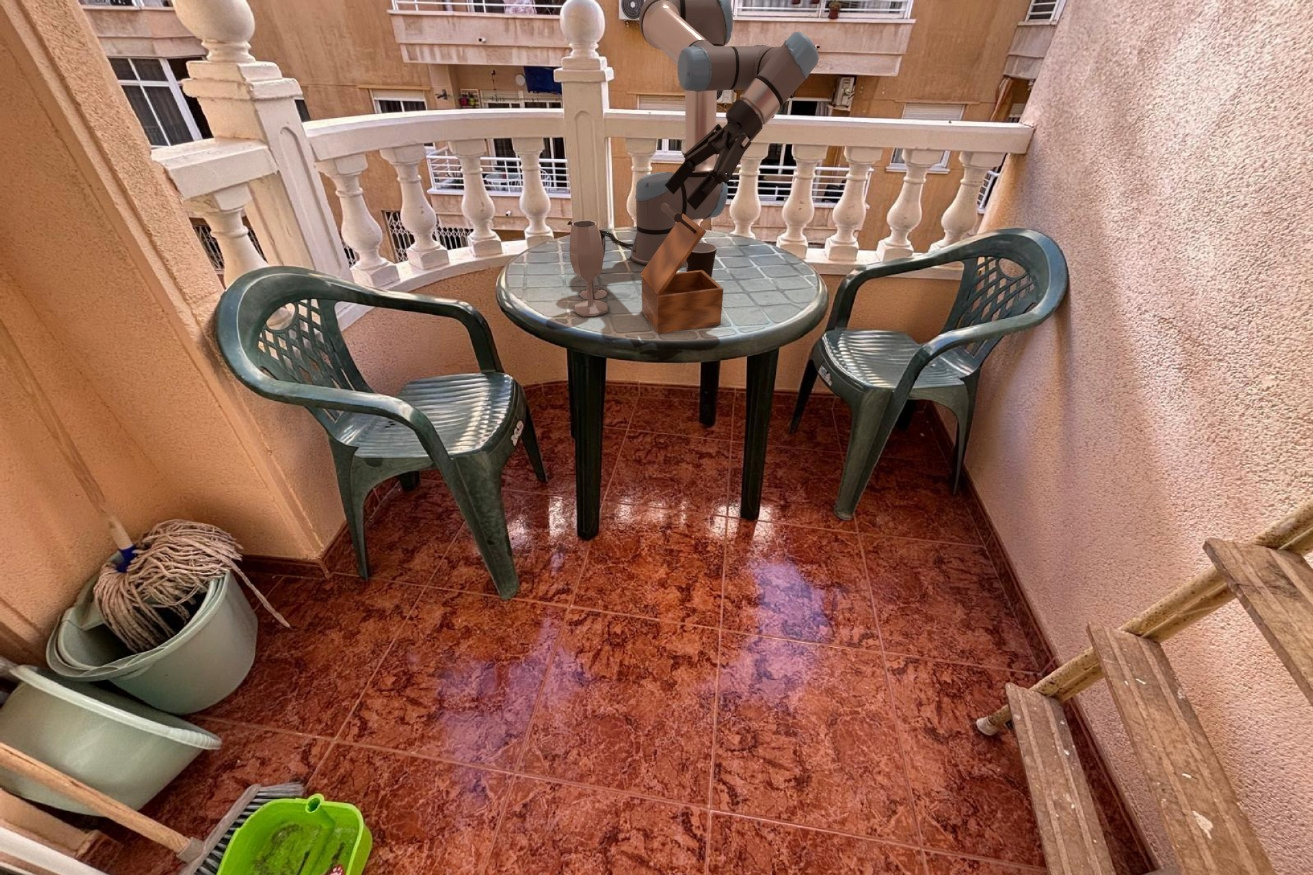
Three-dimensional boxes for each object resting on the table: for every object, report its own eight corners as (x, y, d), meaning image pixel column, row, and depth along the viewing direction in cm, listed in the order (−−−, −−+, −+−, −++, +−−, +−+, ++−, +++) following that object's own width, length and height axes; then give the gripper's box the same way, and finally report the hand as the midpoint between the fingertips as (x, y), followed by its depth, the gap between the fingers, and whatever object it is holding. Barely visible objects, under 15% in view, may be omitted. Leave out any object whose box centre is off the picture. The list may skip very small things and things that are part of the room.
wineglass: (579, 320, 129) (571, 231, 116) (569, 306, 135) (560, 220, 122) (613, 314, 132) (608, 226, 119) (601, 300, 138) (596, 216, 125)
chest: (700, 303, 137) (702, 269, 131) (720, 324, 127) (723, 288, 122) (642, 311, 133) (641, 277, 127) (658, 333, 123) (658, 297, 118)
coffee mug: (709, 291, 143) (711, 254, 137) (679, 287, 145) (680, 250, 139) (720, 276, 152) (723, 241, 146) (691, 272, 154) (693, 237, 148)
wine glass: (584, 302, 137) (579, 243, 128) (574, 291, 143) (568, 234, 134) (613, 296, 140) (610, 238, 131) (601, 286, 146) (597, 230, 137)
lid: (685, 215, 122) (662, 196, 118) (706, 231, 112) (682, 211, 108) (642, 276, 127) (619, 260, 123) (659, 296, 118) (635, 279, 114)
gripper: (791, 136, 100) (712, 225, 106) (736, 119, 119) (671, 195, 125) (769, 104, 96) (688, 199, 101) (716, 91, 114) (650, 172, 120)
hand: (679, 197), depth 113 cm, fingers open, 13 cm apart
